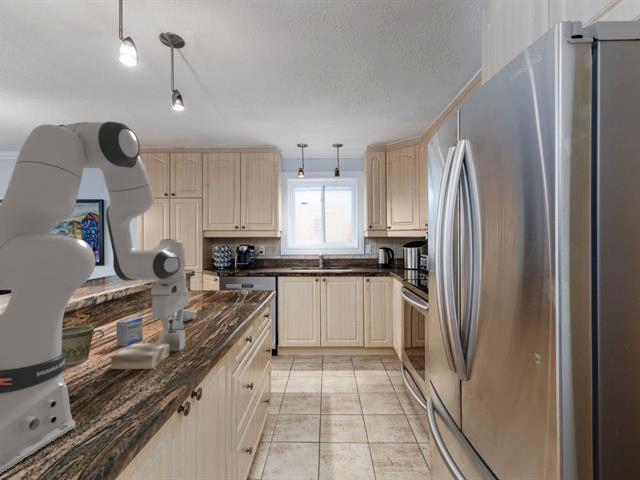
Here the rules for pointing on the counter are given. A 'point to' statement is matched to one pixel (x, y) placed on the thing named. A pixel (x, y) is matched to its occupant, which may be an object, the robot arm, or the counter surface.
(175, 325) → the spoon rest
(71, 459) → the counter surface
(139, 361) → the stand
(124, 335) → the medicine box
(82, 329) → the ceramic cup
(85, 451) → the counter surface
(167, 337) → the block
